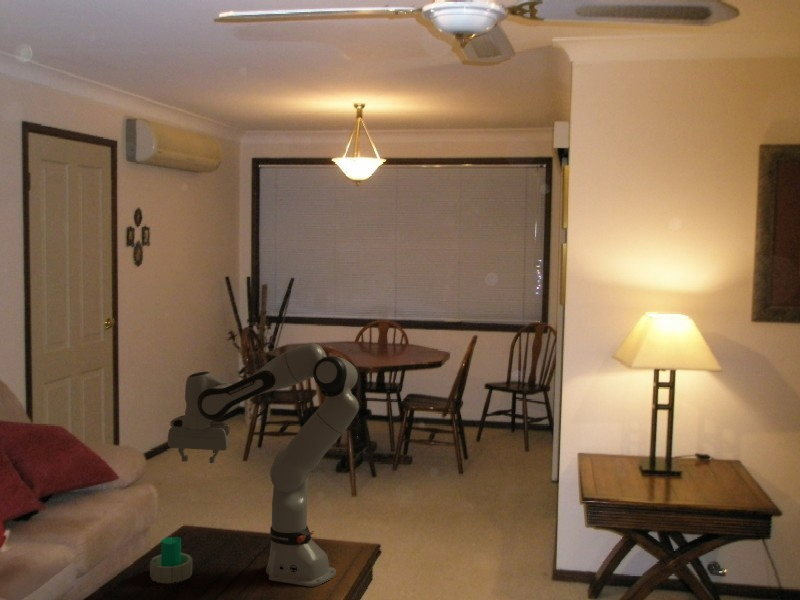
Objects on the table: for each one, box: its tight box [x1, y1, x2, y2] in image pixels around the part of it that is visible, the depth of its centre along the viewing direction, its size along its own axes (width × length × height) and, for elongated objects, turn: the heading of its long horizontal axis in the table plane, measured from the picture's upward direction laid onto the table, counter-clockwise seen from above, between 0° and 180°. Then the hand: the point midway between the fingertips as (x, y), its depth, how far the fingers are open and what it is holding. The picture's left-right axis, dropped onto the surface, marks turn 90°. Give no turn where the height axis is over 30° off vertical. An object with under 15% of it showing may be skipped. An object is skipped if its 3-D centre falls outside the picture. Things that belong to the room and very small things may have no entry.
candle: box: [160, 536, 182, 566], centre depth 265 cm, size 6×6×12 cm
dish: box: [149, 552, 193, 584], centre depth 265 cm, size 12×12×5 cm
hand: (198, 461), depth 281 cm, fingers open, 8 cm apart
